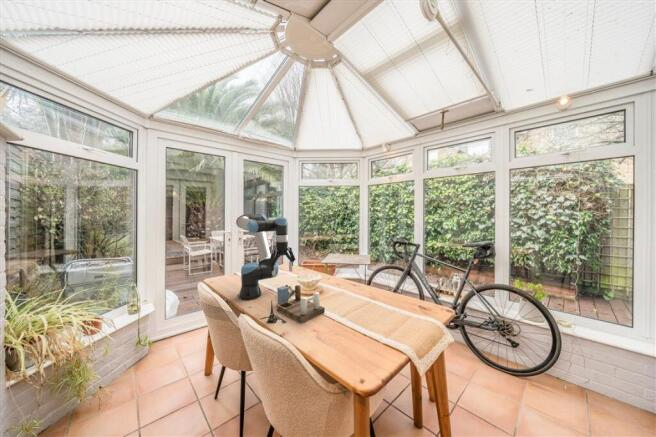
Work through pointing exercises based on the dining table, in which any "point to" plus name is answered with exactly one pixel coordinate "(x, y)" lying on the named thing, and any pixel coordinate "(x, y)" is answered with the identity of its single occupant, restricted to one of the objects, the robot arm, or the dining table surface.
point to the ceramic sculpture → (290, 290)
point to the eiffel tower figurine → (273, 317)
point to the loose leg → (282, 294)
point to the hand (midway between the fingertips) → (282, 273)
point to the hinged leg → (305, 300)
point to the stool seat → (299, 308)
